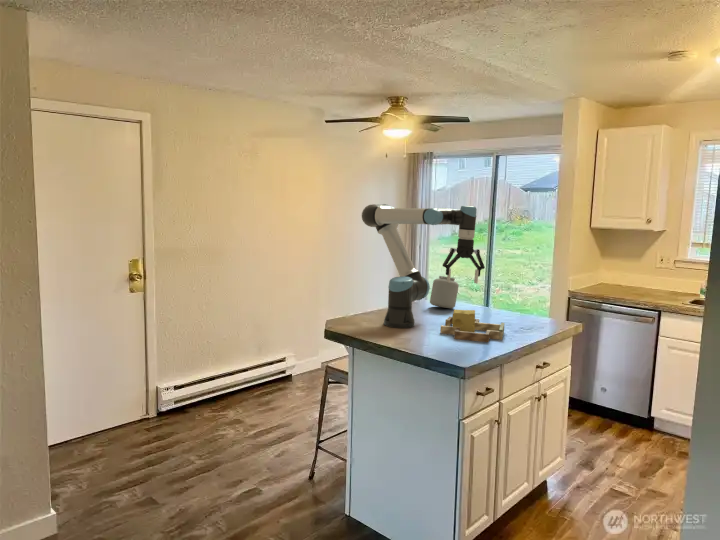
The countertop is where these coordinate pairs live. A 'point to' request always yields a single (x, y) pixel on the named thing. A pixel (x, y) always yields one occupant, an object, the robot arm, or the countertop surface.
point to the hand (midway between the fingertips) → (462, 282)
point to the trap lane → (491, 332)
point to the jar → (444, 292)
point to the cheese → (464, 320)
